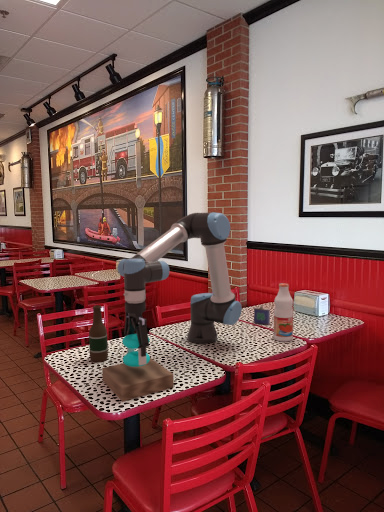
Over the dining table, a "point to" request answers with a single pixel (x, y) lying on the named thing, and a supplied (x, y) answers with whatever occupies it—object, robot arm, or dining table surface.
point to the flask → (261, 316)
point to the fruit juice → (283, 314)
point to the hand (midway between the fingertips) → (136, 359)
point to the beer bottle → (98, 337)
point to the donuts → (132, 357)
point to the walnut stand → (137, 379)
